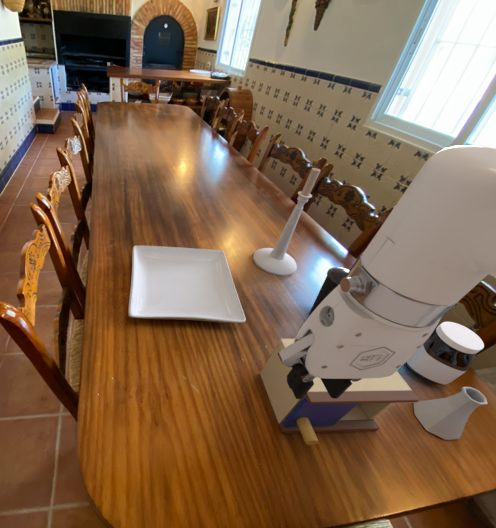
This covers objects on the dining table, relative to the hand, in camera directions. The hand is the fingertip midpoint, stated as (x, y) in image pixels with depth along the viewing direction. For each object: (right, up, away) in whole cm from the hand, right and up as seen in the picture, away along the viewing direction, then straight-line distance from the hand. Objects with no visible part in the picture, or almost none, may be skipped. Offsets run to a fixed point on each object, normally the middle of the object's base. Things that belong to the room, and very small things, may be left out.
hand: (311, 387), depth 39 cm
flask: (+33, -14, +18) cm, 40 cm away
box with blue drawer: (+11, -11, +19) cm, 24 cm away
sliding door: (+7, -14, +12) cm, 20 cm away
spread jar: (+39, -6, +28) cm, 48 cm away
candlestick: (+18, +17, +52) cm, 58 cm away
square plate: (-12, +10, +41) cm, 44 cm away
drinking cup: (+22, +2, +36) cm, 42 cm away
